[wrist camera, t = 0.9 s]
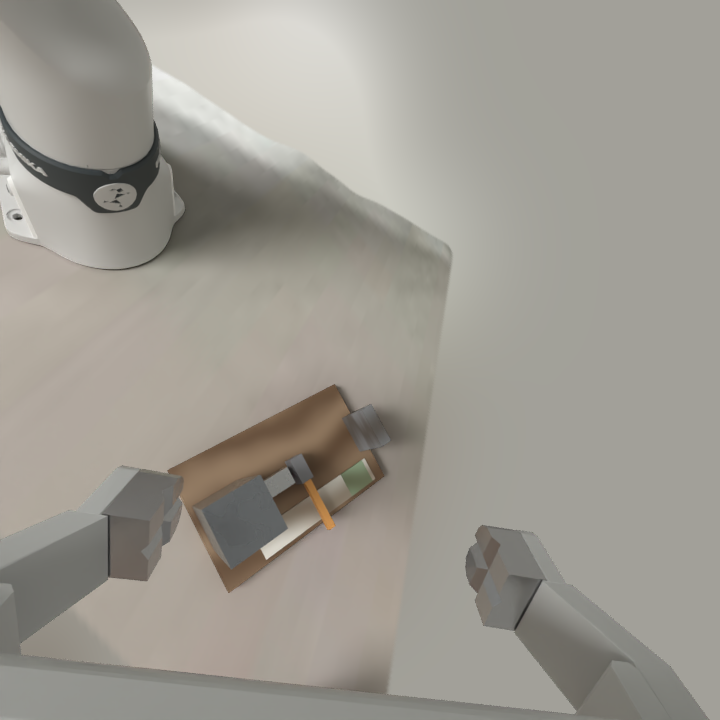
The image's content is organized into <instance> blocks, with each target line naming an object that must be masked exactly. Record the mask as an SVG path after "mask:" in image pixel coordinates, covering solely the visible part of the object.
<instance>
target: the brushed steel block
mask: <svg viewBox="0 0 720 720" xmlns="http://www.w3.org/2000/svg"><path fill="white" fill-rule="evenodd" d="M294 483H295V481H294V479H293V477H292V475H291V473H290V471H289V469H288V467H285V468H282V469H280V470H279V471H277V472H275V473H274V474H272V475H270V476H269V477H267V478H265V479H264V480H263V479H262V477H261V475H256V476H252V477H247V478H243V479H239V480H236V481H234V482H233V483H231V484H229V485H228V486H226V487H224V488H222V489H221V490H219V491H217V492H216V493H214V494H212V495H210V496H209V497H207V498H205V499H204V500H202V501H200V502H199V503H197V504H195V505H193V506H192V507H193V509H194V511H195V513H196V515H197V517H198V519H199V521H200V523H201V525H202V527H203V529H204V531H205V533H206V535H207V537H208V539H209V541H210V543H211V545H212V547H213V549H214V551H215V552H216V553H217V554H218V555H219V556H220V558H221V559H222V560H223V561H224V562H225V563H226V564H227V565H228V567H229V568H230V569H231V570H232V569H233V568H234V567H236V566H237V565H238V564H240V563H241V562H243V561H244V560H245V559H247V558H248V557H250V556H251V555H252V554H254V553H255V552H257V551H258V550H259V549H261V548H262V547H263V546H265V545H266V544H268V543H269V542H270V541H272V540H273V539H275V538H276V537H277V536H279V535H280V534H282V533H283V532H284V531H286V530H287V529H288V527H287V525H286V523H285V521H284V519H283V517H282V515H281V513H280V511H279V510H278V508H277V506H276V504H275V502H274V500H273V497H274V496H276V495H277V494H279V493H280V492H282V491H284V490H285V489H287V488H288V487H290V486H291V485H293V484H294Z"/></svg>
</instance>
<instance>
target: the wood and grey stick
mask: <svg viewBox="0 0 720 720" xmlns="http://www.w3.org/2000/svg"><path fill="white" fill-rule="evenodd" d="M285 464H286V465H287V467H288V469H289V471H290V473H291V475H292V477H293V479H294V481H295V483H296V484H304V486H305V488H306V490H307V492H308V494H309V496H310V498H311V499H312V501H313V503H314V505H315V507H316V509H317V511H318V513H319V515H320V517H321V518H322V520H323V522H324V524H325V526H326V528H327V530H331V529H332V528H333V527H334V526H335V524H334V522H333V520H332V518H331V516H330V514H329V512H328V510H327V509H326V507H325V505H324V503H323V501H322V499H321V497H320V495H319V493H318V491H317V490H316V488H315V486H314V484H313V482H312V480H311V478H312V477H314V476H313V474H312V472H311V471H310V469H309V467H308V465H307V463H306V461H305V459H304V457H303V455H302V454H298V455H295V456H293V457H292V458H290V459H288V460H287V461H285Z"/></svg>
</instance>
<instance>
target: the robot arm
mask: <svg viewBox="0 0 720 720" xmlns="http://www.w3.org/2000/svg"><path fill="white" fill-rule="evenodd" d="M0 203H1V208H2V214H3V219H4V224H5V227H6V230H7V232H8V234H9V235H10V236H11V237H13V238H15V239H17V240H20V241H24V242H28V243H32V244H36V245H41V246H44V247H46V248H48V249H50V250H52V251H53V252H55V253H57V254H59V255H60V256H62V257H64V258H66V259H68V260H70V261H73V262H75V263H78V264H81V265H85V266H89V267H94V268H101V269H123V268H129V267H134V266H137V265H140V264H143V263H145V262H147V261H149V260H151V259H153V258H154V257H156V256H157V255H158V254H159V253H160V252H161V251H162V250H163V249H164V248H165V246H166V245H167V243H168V241H169V239H170V236H171V232H172V228H173V225H174V223H175V222H176V221H177V220H178V219H179V218H180V217H181V216H182V215H183V213H184V212H185V205H184V202H183V200H182V199H181V197H180V196H179V195H178V194H177V192H176V191H175V190H174V187H173V175H172V168H171V166H170V164H168V163H166V161H165V160H164V158H163V157H162V156H161V145H160V139H159V134H158V129H157V126H156V123H155V121H154V119H153V86H152V64H151V59H150V56H149V53H148V50H147V47H146V45H145V42H144V40H143V38H142V36H141V34H140V33H139V31H138V29H137V28H136V26H135V25H134V23H133V22H132V20H131V19H130V17H129V16H128V15H127V13H126V12H125V11H124V10H123V8H122V7H121V5H120V4H119V3H118V2H117V1H116V0H0ZM16 218H22V219H21V220H15V219H16ZM183 484H184V478H183V477H182V476H178V475H173V474H168V473H162V472H157V471H152V470H146V469H139V468H134V467H128V466H123V465H122V466H120V467H118V468H116V469H115V470H114V471H113V472H112V473H111V474H110V475H109V477H108V478H107V479H106V480H105V481H104V482H103V483H102V484H101V485H100V486H99V487H98V488H97V489H96V490H95V491H94V492H93V493H92V494H91V495H90V497H89V498H88V499H87V500H86V501H85V502H84V503H83V504H82V505H81V506H80V507H79V508H78V509H77V510H76V511H72V510H68V511H66V512H63V513H61V514H59V515H57V516H54V517H52V518H50V519H47V520H45V521H43V522H40V523H38V524H36V525H33V526H31V527H29V528H26V529H24V530H22V531H19V532H17V533H15V534H12V535H10V536H8V537H5V538H3V539H1V540H0V720H709V719H708V717H707V716H706V715H705V713H704V712H703V710H702V709H701V708H700V706H699V705H698V704H697V702H696V701H695V699H694V698H693V697H692V695H691V694H690V693H689V691H688V690H687V688H686V687H685V686H684V684H683V683H682V682H681V680H680V679H679V677H678V676H677V675H676V673H675V672H674V671H673V669H672V668H671V666H669V665H668V664H667V663H666V662H665V661H663V660H662V659H661V658H660V657H659V656H657V655H656V654H655V653H654V652H652V651H651V650H650V649H649V648H648V647H646V646H645V645H644V644H643V643H642V642H640V641H639V640H638V639H637V638H636V637H634V636H633V635H632V634H631V633H629V632H628V631H627V630H626V629H625V628H624V627H622V626H621V625H620V624H619V623H617V622H616V621H615V620H614V619H613V618H611V617H610V616H609V615H608V614H607V613H605V612H604V611H603V610H601V609H600V608H599V607H598V606H597V605H596V604H595V603H593V602H592V601H591V600H590V599H589V598H587V597H586V596H585V595H584V594H582V593H581V592H580V591H579V590H578V589H576V588H575V587H574V586H573V585H569V584H566V582H565V580H564V579H563V577H562V575H561V574H560V572H559V571H558V569H557V567H556V566H555V564H554V562H553V561H552V559H551V558H550V556H549V554H548V553H547V551H546V549H545V548H544V546H543V544H542V543H541V541H540V540H539V538H538V536H536V535H535V534H534V533H533V532H527V531H520V530H510V529H504V528H497V527H491V526H485V525H482V526H480V527H479V528H478V530H477V532H476V535H475V536H476V539H477V543H476V544H474V545H473V546H471V547H470V548H469V551H468V554H467V556H466V575H467V578H468V581H469V584H470V586H471V587H472V588H473V589H474V590H475V591H476V592H477V593H478V594H477V596H476V599H475V603H476V605H477V608H478V611H479V614H480V617H481V620H482V623H483V626H488V627H494V628H500V629H506V630H512V631H515V632H514V633H515V634H516V636H517V637H518V638H519V639H520V640H521V642H522V643H523V644H524V645H525V647H526V648H527V649H528V651H529V652H530V653H531V654H532V656H533V657H534V658H535V659H536V661H537V662H538V663H539V664H540V666H541V667H542V668H543V669H544V671H545V672H546V673H547V674H548V676H549V677H550V678H551V679H552V681H553V682H554V683H555V684H556V686H557V687H558V688H559V689H560V691H561V692H562V693H563V694H564V696H565V697H566V698H567V699H568V701H569V702H570V703H571V704H572V706H573V707H574V708H575V710H576V711H577V712H576V713H575V714H566V713H556V712H548V711H539V710H529V709H520V708H510V707H501V706H492V705H483V704H473V703H464V702H454V701H445V700H435V699H426V698H416V697H407V696H398V695H388V694H379V693H370V692H361V691H351V690H342V689H333V688H324V687H315V686H306V685H296V684H287V683H278V682H269V681H260V680H251V679H241V678H232V677H223V676H214V675H204V674H195V673H186V672H177V671H167V670H158V669H149V668H139V667H130V666H121V665H111V664H102V663H93V662H84V661H74V660H65V659H56V658H46V657H38V656H27V655H21V649H20V643H22V642H23V641H24V640H26V639H27V638H29V637H30V636H31V635H33V634H34V633H36V632H37V631H38V630H40V629H41V628H42V627H44V626H45V625H46V624H48V623H49V622H51V621H52V620H53V619H55V618H56V617H57V616H59V615H60V614H61V613H63V612H64V611H66V610H67V609H68V608H70V607H71V606H73V605H74V604H75V603H77V602H78V601H79V600H81V599H82V598H84V597H85V596H86V595H88V594H89V593H90V592H92V591H93V590H95V589H96V588H97V587H99V586H100V585H101V584H103V583H104V582H105V581H107V580H108V577H109V578H119V579H129V580H139V581H148V579H149V577H150V575H151V574H152V572H153V570H154V568H155V567H156V565H157V563H158V561H159V560H160V558H161V551H162V546H163V545H165V544H166V543H168V542H170V540H171V538H172V536H173V534H174V532H175V530H176V527H177V525H178V522H179V519H180V515H181V510H182V502H181V500H180V499H179V498H178V497H179V495H180V494H181V492H182V490H183Z"/></svg>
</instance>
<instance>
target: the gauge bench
mask: <svg viewBox="0 0 720 720" xmlns="http://www.w3.org/2000/svg"><path fill="white" fill-rule="evenodd" d="M390 441H391V439H390V437H389V436H388V434H387V432H386V430H385V428H384V427H383V425H382V423H381V421H380V419H379V417H378V416H377V414H376V412H375V410H374V408H373V406H372V405H371V404H370V405H368V406H366V407H363V408H361V409H359V410H357V411H354V412H352V413H350V412H349V410H348V408H347V406H346V404H345V402H344V400H343V399H342V397H341V395H340V393H339V391H338V389H337V388H336V386H335V384H334V385H332V386H330V387H328V388H326V389H324V390H322V391H320V392H318V393H317V394H315V395H313V396H311V397H309V398H307V399H305V400H303V401H301V402H299V403H297V404H295V405H293V406H291V407H289V408H287V409H286V410H284V411H282V412H280V413H278V414H276V415H274V416H272V417H270V418H268V419H266V420H264V421H262V422H260V423H258V424H256V425H254V426H253V427H251V428H249V429H247V430H245V431H243V432H241V433H239V434H237V435H235V436H233V437H231V438H229V439H227V440H225V441H223V442H222V443H220V444H218V445H216V446H214V447H212V448H210V449H208V450H206V451H204V452H202V453H200V454H198V455H196V456H194V457H192V458H190V459H189V460H187V461H185V462H183V463H181V464H179V465H177V466H175V467H173V468H171V469H169V470H168V473H169V474H173V475H178V476H182V477H183V478H184V484H183V490H182V492H181V494H180V497H181V499H182V501H183V503H184V505H185V507H186V509H187V511H188V513H189V515H190V517H191V519H192V521H193V523H194V525H195V527H196V529H197V531H198V533H199V535H200V537H201V539H202V541H203V543H204V545H205V547H206V549H207V551H208V553H209V555H210V557H211V559H212V561H213V563H214V565H215V567H216V569H217V571H218V573H219V575H220V577H221V579H222V581H223V583H224V585H225V587H226V589H227V591H228V593H230V592H231V591H232V590H234V589H235V588H236V587H238V586H239V585H240V584H242V583H243V582H244V581H246V580H247V579H248V578H250V577H251V576H252V575H254V574H255V573H256V572H258V571H259V570H260V569H262V568H263V567H264V566H266V565H267V564H268V563H270V562H271V561H272V560H274V559H275V558H276V557H278V556H279V555H280V554H282V553H283V552H284V551H286V550H287V549H288V548H289V547H291V546H292V545H293V544H295V543H296V542H297V541H299V540H300V539H301V538H303V537H304V536H305V535H307V534H308V533H309V532H311V531H312V530H313V529H315V528H316V527H317V526H319V525H320V524H321V523H323V520H322V518H321V517H320V515H319V513H318V511H317V509H316V507H315V505H314V503H313V501H312V499H311V498H310V496H309V494H308V492H307V490H306V488H305V486H304V484H296V483H294V484H293V485H291V486H290V487H288V488H287V489H285V490H284V491H282V492H280V493H279V494H277V495H276V496H274V497H273V500H274V502H275V504H276V506H277V508H278V510H279V511H280V513H281V515H282V517H283V519H284V521H285V523H286V525H287V527H288V529H287V530H286V531H284V532H283V533H282V534H280V535H279V536H277V537H276V538H275V539H273V540H272V541H270V542H269V543H268V544H266V545H265V546H263V547H262V548H261V549H259V550H258V551H257V552H255V553H254V554H252V555H251V556H250V557H248V558H247V559H245V560H244V561H243V562H241V563H240V564H238V565H237V566H236V567H234V568H233V569H232V570H231V569H230V568H229V567H228V565H227V564H226V563H225V562H224V561H223V560H222V559H221V558H220V556H219V555H218V554H217V553H216V552H215V551H214V549H213V547H212V545H211V543H210V541H209V539H208V537H207V535H206V533H205V531H204V529H203V527H202V525H201V523H200V521H199V519H198V517H197V515H196V513H195V511H194V509H193V507H192V506H193V505H195V504H197V503H199V502H200V501H202V500H204V499H205V498H207V497H209V496H210V495H212V494H214V493H216V492H217V491H219V490H221V489H222V488H224V487H226V486H228V485H229V484H231V483H233V482H234V481H236V480H239V479H243V478H247V477H252V476H256V475H261V477H262V479H263V480H264V479H265V478H267V477H269V476H270V475H272V474H274V473H275V472H277V471H279V470H280V469H282V468H285V467H287V465H286V464H285V461H287V460H288V459H290V458H292V457H293V456H295V455H298V454H302V455H303V457H304V459H305V461H306V463H307V465H308V467H309V469H310V471H311V472H312V474H313V476H314V477H312V478H311V480H312V482H313V484H314V486H315V488H316V490H317V491H318V493H319V495H320V497H321V499H322V501H323V503H324V505H325V507H326V509H327V510H328V512H329V514H330V516H332V515H333V514H335V513H336V512H337V511H339V510H340V509H341V508H343V507H344V506H345V505H347V504H348V503H349V502H351V501H352V500H353V499H355V498H356V497H357V496H359V495H360V494H361V493H363V492H364V491H365V490H367V489H368V488H369V487H371V486H372V485H373V484H375V483H376V482H377V481H379V480H380V479H381V478H382V477H384V474H383V472H382V471H381V469H380V467H379V465H378V463H377V461H376V459H375V458H374V456H373V454H372V452H371V450H370V449H374V448H378V447H382V446H384V445H385V444H387V443H388V442H390Z"/></svg>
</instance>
